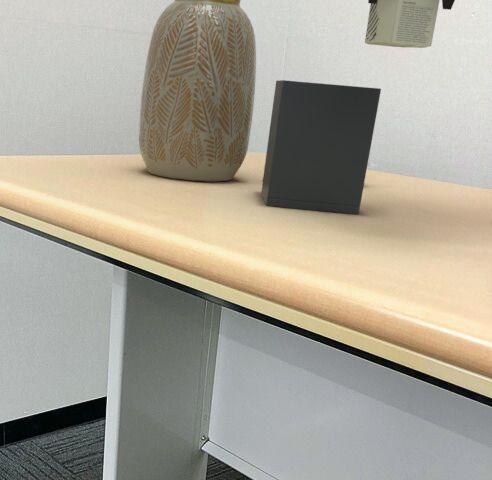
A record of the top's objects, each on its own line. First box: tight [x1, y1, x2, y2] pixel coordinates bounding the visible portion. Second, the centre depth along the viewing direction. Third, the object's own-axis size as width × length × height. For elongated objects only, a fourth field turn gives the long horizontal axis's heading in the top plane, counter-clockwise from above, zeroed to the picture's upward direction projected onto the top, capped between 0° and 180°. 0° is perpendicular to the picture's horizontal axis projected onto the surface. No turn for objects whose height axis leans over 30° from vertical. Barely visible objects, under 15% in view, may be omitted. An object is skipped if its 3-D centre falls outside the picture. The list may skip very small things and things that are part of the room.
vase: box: [138, 0, 257, 183], centre depth 114 cm, size 17×17×27 cm
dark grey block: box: [260, 79, 382, 215], centre depth 98 cm, size 12×12×15 cm
